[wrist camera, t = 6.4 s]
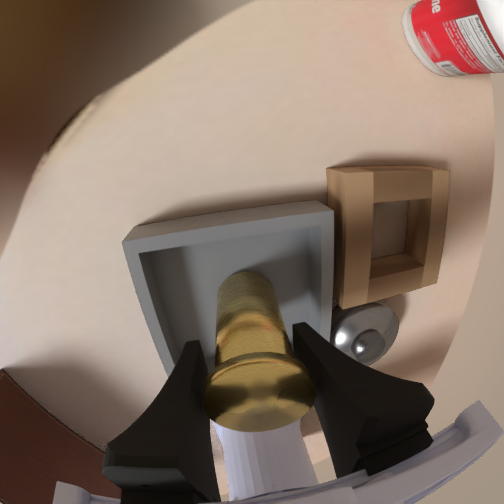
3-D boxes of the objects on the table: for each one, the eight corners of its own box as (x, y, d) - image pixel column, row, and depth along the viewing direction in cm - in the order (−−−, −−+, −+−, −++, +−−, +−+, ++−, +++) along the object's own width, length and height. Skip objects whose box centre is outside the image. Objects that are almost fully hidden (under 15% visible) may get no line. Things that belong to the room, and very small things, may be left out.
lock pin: (281, 322, 17) (311, 424, 10) (215, 328, 17) (213, 435, 10) (280, 261, 16) (321, 359, 8) (205, 268, 15) (192, 373, 8)
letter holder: (2, 366, 17) (-47, 468, 4) (129, 464, 25) (125, 555, 12) (-20, 384, 18) (-57, 462, 5) (87, 469, 25) (78, 543, 12)
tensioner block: (417, 269, 19) (436, 283, 17) (327, 290, 18) (342, 309, 16) (426, 165, 16) (449, 171, 14) (326, 168, 15) (345, 172, 13)
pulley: (381, 346, 21) (396, 366, 19) (317, 364, 21) (329, 389, 18) (392, 287, 19) (412, 305, 17) (320, 304, 19) (336, 328, 16)
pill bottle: (425, 0, 11) (527, -30, 1) (465, 63, 13) (571, 61, 3) (383, 16, 12) (506, -32, 1) (431, 89, 14) (563, 90, 4)
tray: (315, 340, 20) (327, 363, 17) (175, 363, 19) (174, 389, 16) (315, 199, 16) (333, 210, 13) (134, 226, 15) (121, 242, 12)
